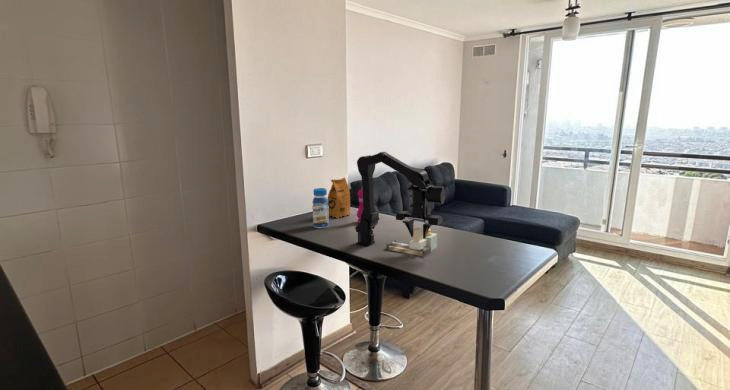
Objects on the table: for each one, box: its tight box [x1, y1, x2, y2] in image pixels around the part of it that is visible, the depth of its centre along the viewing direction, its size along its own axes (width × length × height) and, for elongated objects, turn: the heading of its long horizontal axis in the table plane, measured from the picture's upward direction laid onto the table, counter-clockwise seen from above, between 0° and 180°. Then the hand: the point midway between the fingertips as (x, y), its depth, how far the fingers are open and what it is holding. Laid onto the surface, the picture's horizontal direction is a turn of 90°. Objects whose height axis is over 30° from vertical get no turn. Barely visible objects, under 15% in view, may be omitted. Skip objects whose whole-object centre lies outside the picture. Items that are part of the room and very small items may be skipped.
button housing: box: [425, 232, 438, 252], centre depth 168 cm, size 7×7×6 cm
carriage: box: [409, 227, 427, 250], centre depth 162 cm, size 5×6×8 cm
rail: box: [386, 239, 432, 258], centre depth 165 cm, size 18×6×2 cm, turn 58°
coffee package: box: [327, 177, 351, 219], centre depth 223 cm, size 10×12×22 cm
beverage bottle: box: [312, 187, 330, 229], centre depth 202 cm, size 8×8×20 cm
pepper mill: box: [356, 188, 363, 224], centre depth 209 cm, size 7×7×20 cm
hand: (418, 237), depth 162 cm, fingers open, 5 cm apart
